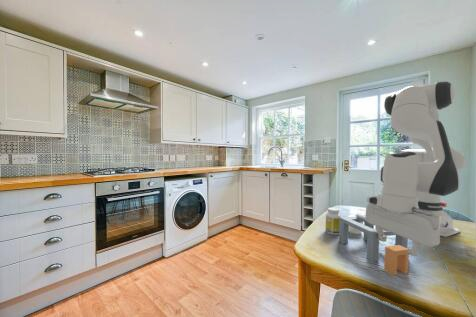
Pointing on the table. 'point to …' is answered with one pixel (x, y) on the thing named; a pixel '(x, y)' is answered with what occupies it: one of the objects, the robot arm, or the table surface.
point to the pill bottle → (332, 221)
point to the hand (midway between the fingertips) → (396, 247)
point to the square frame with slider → (366, 234)
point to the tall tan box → (396, 259)
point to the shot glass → (354, 228)
